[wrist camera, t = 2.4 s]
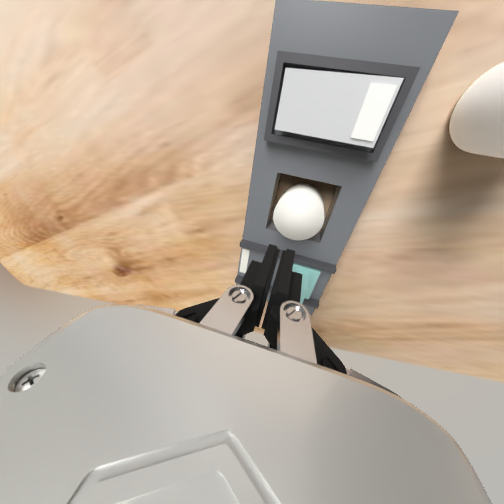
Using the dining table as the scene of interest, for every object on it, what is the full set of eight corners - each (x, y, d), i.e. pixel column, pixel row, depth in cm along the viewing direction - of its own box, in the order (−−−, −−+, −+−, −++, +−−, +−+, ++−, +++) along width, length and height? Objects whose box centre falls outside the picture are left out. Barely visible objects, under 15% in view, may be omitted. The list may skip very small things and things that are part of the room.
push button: (330, 189, 21) (332, 199, 18) (315, 230, 24) (314, 245, 21) (285, 179, 22) (279, 187, 19) (275, 220, 25) (268, 233, 22)
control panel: (436, 30, 15) (470, 1, 12) (312, 300, 32) (311, 321, 28) (282, 16, 17) (272, -13, 14) (241, 278, 34) (232, 295, 30)
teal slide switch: (320, 268, 25) (320, 289, 21) (309, 295, 27) (307, 317, 24) (289, 259, 25) (284, 278, 22) (280, 286, 28) (275, 307, 25)
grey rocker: (401, 81, 13) (404, 77, 12) (372, 147, 16) (373, 148, 15) (290, 71, 16) (285, 67, 15) (279, 129, 18) (274, 129, 17)
